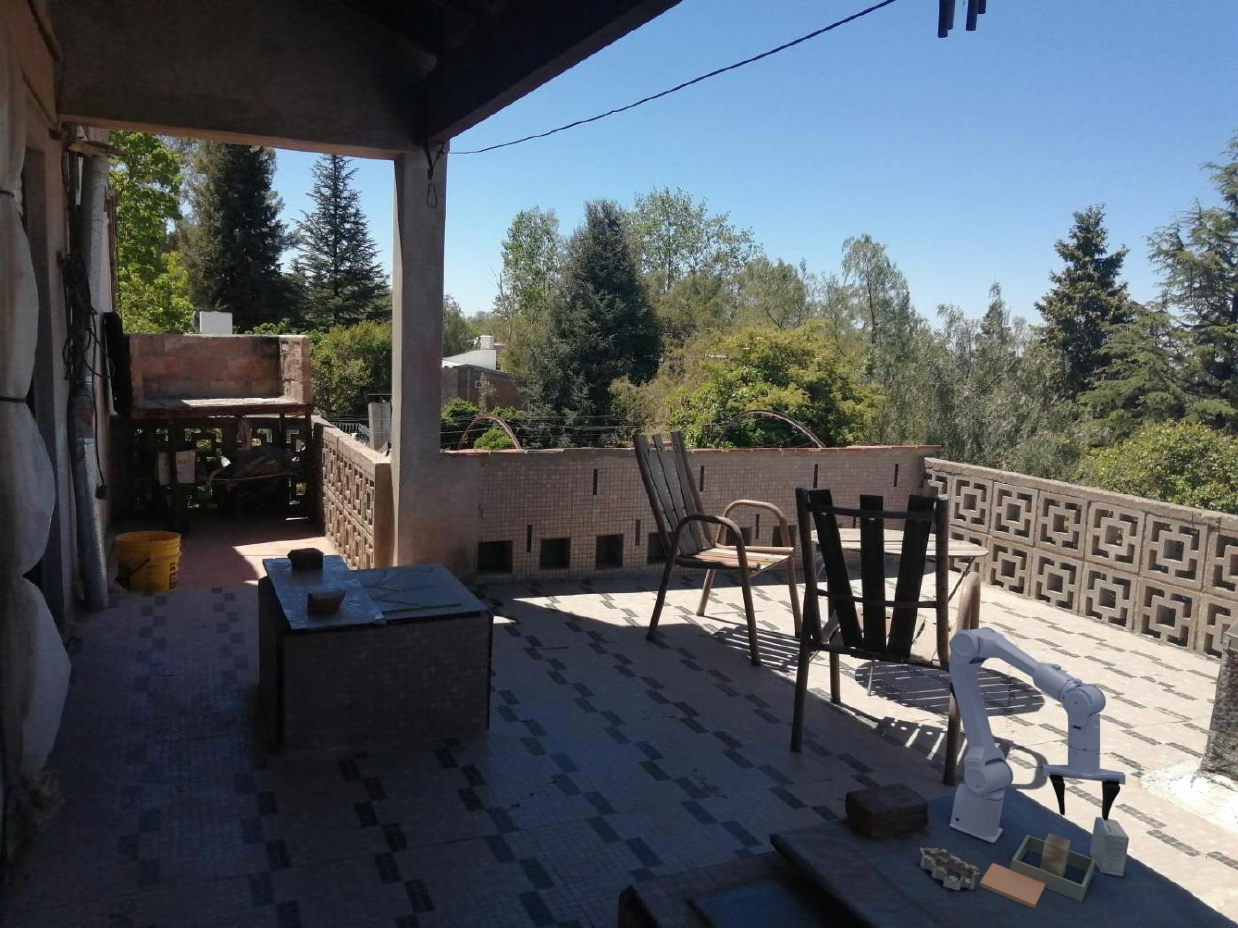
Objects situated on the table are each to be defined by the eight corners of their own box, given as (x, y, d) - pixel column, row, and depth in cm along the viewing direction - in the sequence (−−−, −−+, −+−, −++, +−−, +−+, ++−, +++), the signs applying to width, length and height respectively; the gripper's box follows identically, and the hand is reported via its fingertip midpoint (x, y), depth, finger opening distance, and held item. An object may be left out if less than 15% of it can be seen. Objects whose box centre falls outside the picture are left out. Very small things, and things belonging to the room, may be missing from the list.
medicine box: (1122, 877, 188) (1130, 837, 187) (1099, 872, 189) (1107, 833, 188) (1110, 858, 196) (1117, 819, 195) (1088, 853, 197) (1095, 815, 196)
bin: (1009, 873, 184) (1012, 859, 184) (1025, 847, 196) (1027, 834, 195) (1081, 901, 177) (1084, 887, 176) (1093, 873, 188) (1095, 859, 188)
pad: (979, 885, 178) (979, 882, 178) (992, 866, 186) (992, 862, 186) (1034, 908, 172) (1035, 904, 172) (1045, 887, 181) (1045, 883, 180)
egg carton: (980, 891, 177) (983, 871, 176) (947, 893, 175) (950, 873, 174) (945, 860, 187) (948, 841, 186) (913, 862, 185) (917, 843, 184)
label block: (1038, 874, 185) (1044, 841, 185) (1043, 864, 190) (1049, 832, 189) (1060, 882, 183) (1066, 849, 182) (1065, 872, 187) (1071, 840, 187)
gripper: (1046, 748, 182) (1046, 818, 181) (1129, 756, 177) (1128, 827, 177) (1041, 739, 188) (1041, 806, 188) (1121, 746, 184) (1120, 815, 184)
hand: (1083, 816), depth 183 cm, fingers open, 7 cm apart
